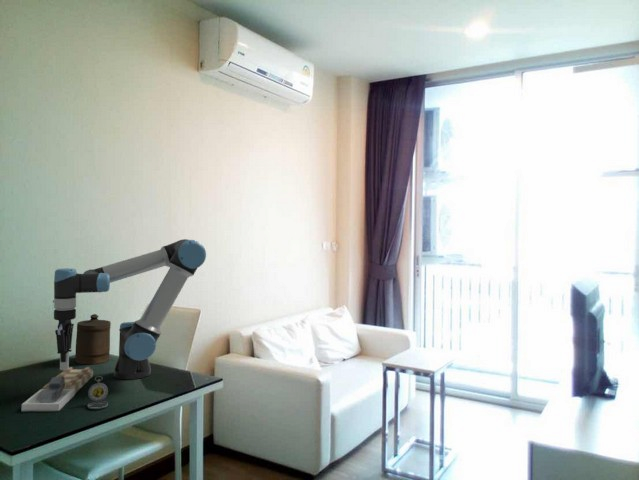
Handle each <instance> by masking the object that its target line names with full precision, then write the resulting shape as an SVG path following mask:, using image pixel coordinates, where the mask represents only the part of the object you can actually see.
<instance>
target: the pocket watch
mask: <svg viewBox="0 0 639 480" xmlns="http://www.w3.org/2000/svg"><path fill="white" fill-rule="evenodd" d="M97 378H98V379H97ZM100 378H101V379H100ZM103 379H104V378H103V376H100V375H99V376H98V375H97V376H95V378H94V380H95V381H96V382H97V383H94V384H92V385H90V386H89V389H88V390H87V394H88V395H87V396H88V397H89V399H90V400H91V401H92V402H90V403H88V404H87V408H88V409H90V410H102V409H105V408H107V407H108V406H109V403H108V401H105V398H107V397H108V394H109V388H108V386H107V385H106V384H105V383H104V382H101V381H103ZM103 400H104V401H103ZM94 404H105V406H102V407H90V406H92V405H94Z"/></svg>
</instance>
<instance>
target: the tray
mask: <svg viewBox="0 0 639 480" xmlns="http://www.w3.org/2000/svg"><path fill="white" fill-rule="evenodd" d="M44 390H46V389H43V388H40V389H39V390H38V391H37V392H35V393H34V394H33V395H31V396H30V397H29V398H28V399H27V400H25V401H24V402H23V403H21V408H20V409H21V411H20V412H23V413H24V412H26V413H27V412H60V410H62V409H63V408H64V406H66V405H67V404H68V403H69V402H70V400H72V399H73V398H74V397H75V396H76V393H75V389H63V390H62V392H61V393H60V398H59V399H58V400H57V401H56V402H54V403H40V393H42V392H43V391H44Z"/></svg>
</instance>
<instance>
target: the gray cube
mask: <svg viewBox="0 0 639 480" xmlns="http://www.w3.org/2000/svg"><path fill="white" fill-rule="evenodd" d="M48 383H49V387H61V391H60V393H61V392H62V390H63V389H64V387H65V380H64V377H56V376H52V377H51V379H50V381H48Z"/></svg>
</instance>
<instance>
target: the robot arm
mask: <svg viewBox="0 0 639 480" xmlns="http://www.w3.org/2000/svg"><path fill="white" fill-rule="evenodd" d="M206 258H207V251H206V249H205V247H204V245H203V244H202V243H200V242H199V241H197V240H196V239H187V238H184V239H179V240H177V241H174V242H173V243H169V244H167V245H163V246H162V247H161V248H160V249H158V250H155V251H151V252H148V253H144V254H141V255H138V256H134V257H131V258H127V259H125V260H124V259H123V260H121V261H118V262H114V263H111V264H107V265H104V266H100V267H97V268H94V269H87V270H85V271H84V272H83V273H77V269H75V268H67V267H66V268H57V269H55V271H54V278H53V279H54V280H53V281H54V282H53V294H54V295H53V296H54V297H53V299H54V300H52V303H53V308H54V310H53V319H54V320H56V321H58V323H57V329H55V331H54V332H55V335H56V337H55V338H56V347H57V352H56V354H59V370H60V371H64V370H68V369H69V367H70V366H69V365H70V352H71V353H72V351H73V350H72V342H73V330H74V326H75V324H74V323H72V320H75V319H76V317H77V310H76V307H77V294H82V293H83V294H84V293H88V294H89V293H106V292H109V291H110V289H111V288H110V284H111V283H114V282H117V281H121V280H124V279H127V278H131V277H134V276H137V275H140V274H143V273H146V272H150V271H153V270H157V269H160V268H163V267H167V268H169V269H168V270H167V272H166V273H165V276H164V277H163V279H162V281H161V283H160V284H159V286H158V288H157V290H156V291H155V293H154V295H153V297H152V299H151V300H150V302H149V304H148V305H147V307H146V309H145V311H144V313H143V314H142V316H141V318H140V319H137V320H135V321H127V322H126V321H125V322H122V323H120V325H119V329H118V330H119V342H118V344H119V345H118V346H119V347H118V359H117V361H116V363H115V367H114V369H113V377H114V378H117V379H121V380H137V379H141V378H146V377H148V376H150V375H151V372H152V368H151V363H150V362H149V359H150V357H152V356H153V354H154V353H155V351H156V348H157V342H158V339H159V338H160V336H161V334H162V332H161V327H162V325H163V323H164V321H166V317H167V316H168V315H169V312H170V311H171V309H172V307H173V305H174V304H175V302H176V300H177V299H178V297H179V295H180V292H181V291H182V290H183V287H184V286H185V283H186V281H188V279H189V278H190V277H193V276H194V275H195V273H196V271H197V269H198V268H200V267H201V266H202V265H204V263H205V261H206Z"/></svg>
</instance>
